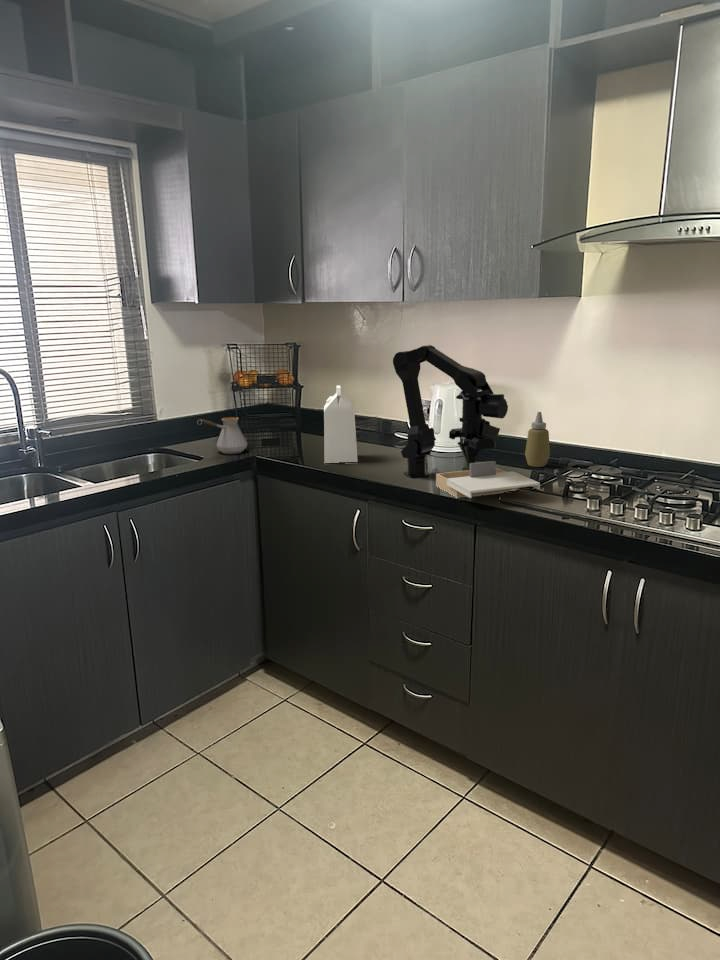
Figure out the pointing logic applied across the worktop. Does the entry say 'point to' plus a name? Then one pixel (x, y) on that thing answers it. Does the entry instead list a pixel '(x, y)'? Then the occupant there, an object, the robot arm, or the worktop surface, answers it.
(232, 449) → the coffee pot
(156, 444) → the worktop surface
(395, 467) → the worktop surface
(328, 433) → the milk
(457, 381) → the robot arm
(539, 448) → the squeeze bottle
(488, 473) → the lid
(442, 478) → the mailer box
